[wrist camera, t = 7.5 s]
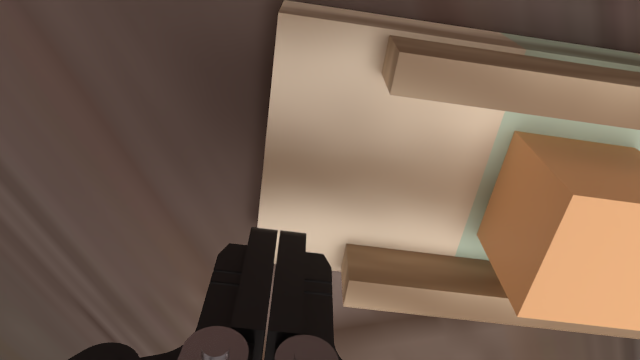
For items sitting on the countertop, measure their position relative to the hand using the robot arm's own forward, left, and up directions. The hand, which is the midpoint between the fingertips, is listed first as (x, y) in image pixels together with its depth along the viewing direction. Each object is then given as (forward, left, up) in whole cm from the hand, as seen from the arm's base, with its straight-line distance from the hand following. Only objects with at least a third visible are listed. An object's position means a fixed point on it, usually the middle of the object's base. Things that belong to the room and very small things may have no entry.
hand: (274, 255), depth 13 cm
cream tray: (0, +11, -10) cm, 15 cm away
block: (0, +11, -7) cm, 13 cm away
